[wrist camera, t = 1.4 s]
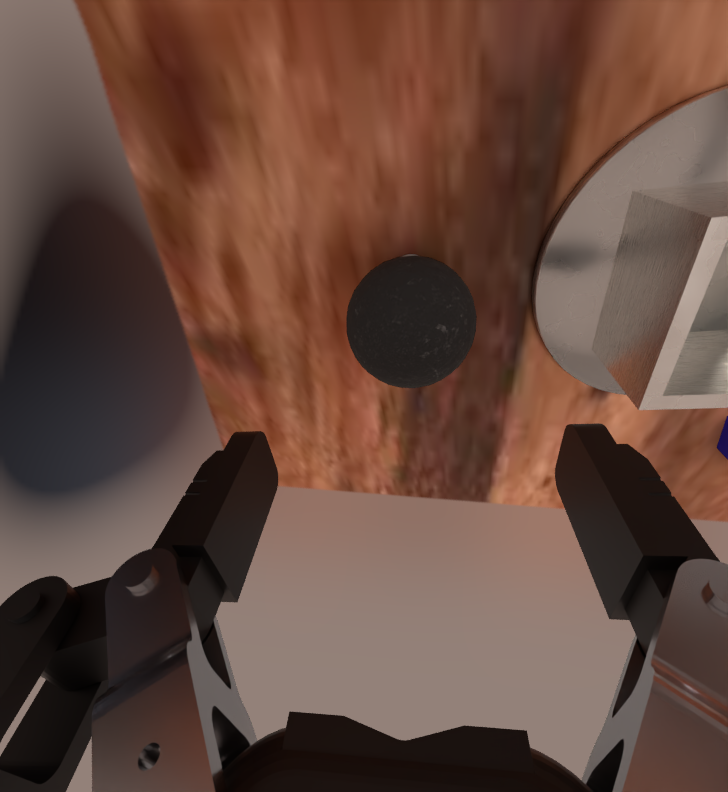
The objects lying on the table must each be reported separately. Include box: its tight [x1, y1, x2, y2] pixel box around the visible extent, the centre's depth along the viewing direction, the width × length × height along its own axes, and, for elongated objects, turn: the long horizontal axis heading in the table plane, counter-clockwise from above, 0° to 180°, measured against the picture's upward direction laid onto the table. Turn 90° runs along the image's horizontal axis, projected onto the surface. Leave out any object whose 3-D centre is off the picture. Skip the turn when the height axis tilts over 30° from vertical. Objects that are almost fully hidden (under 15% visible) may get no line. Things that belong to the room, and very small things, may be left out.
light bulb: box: [347, 254, 476, 388], centre depth 19 cm, size 6×6×10 cm
